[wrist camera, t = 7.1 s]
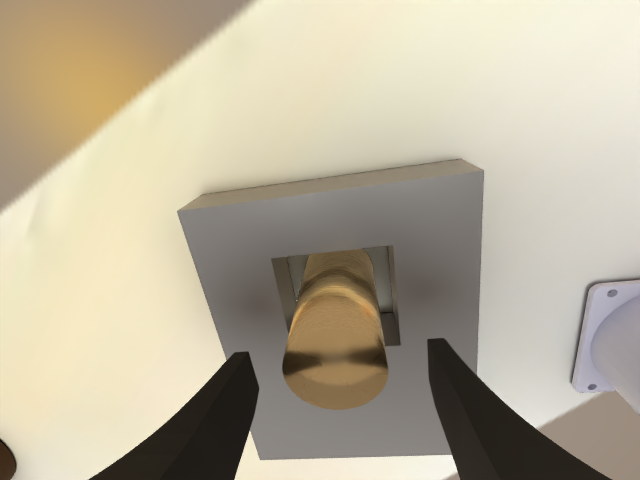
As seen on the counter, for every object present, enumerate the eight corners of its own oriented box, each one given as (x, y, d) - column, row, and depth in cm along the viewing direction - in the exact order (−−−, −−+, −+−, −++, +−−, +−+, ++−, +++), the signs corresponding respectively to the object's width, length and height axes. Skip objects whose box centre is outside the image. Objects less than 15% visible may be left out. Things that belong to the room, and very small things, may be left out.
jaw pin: (373, 240, 19) (390, 329, 11) (371, 299, 20) (386, 411, 13) (304, 240, 19) (277, 327, 12) (307, 298, 21) (286, 407, 13)
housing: (461, 158, 17) (483, 170, 14) (458, 412, 23) (473, 454, 21) (202, 194, 18) (176, 211, 16) (269, 420, 25) (260, 460, 22)
